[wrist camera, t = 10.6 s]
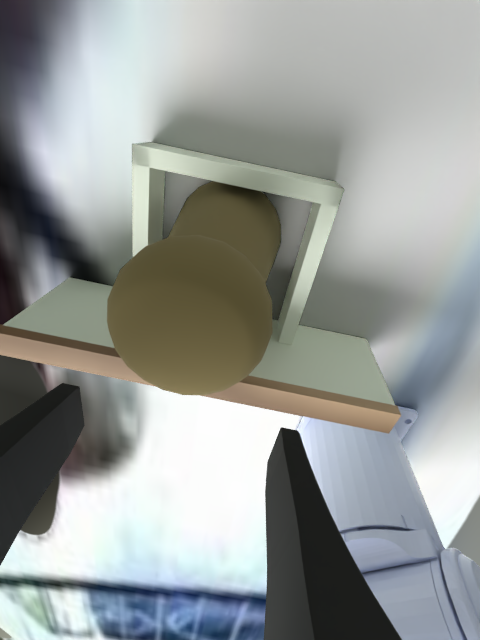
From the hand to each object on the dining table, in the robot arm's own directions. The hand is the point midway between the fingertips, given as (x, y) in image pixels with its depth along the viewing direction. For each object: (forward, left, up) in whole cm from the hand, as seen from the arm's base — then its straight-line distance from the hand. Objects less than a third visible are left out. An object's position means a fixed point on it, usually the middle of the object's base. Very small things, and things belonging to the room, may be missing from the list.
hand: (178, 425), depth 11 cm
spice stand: (+3, 0, -10) cm, 11 cm away
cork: (+4, 0, -11) cm, 11 cm away
